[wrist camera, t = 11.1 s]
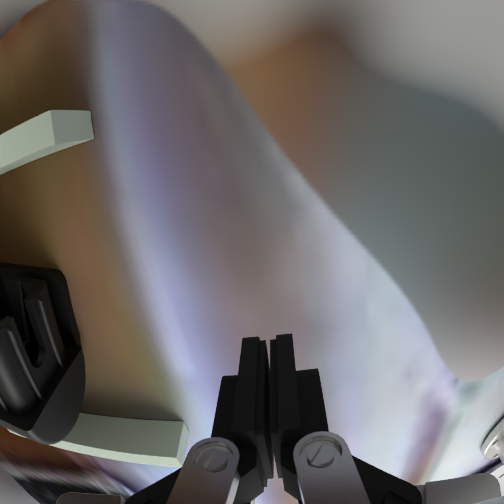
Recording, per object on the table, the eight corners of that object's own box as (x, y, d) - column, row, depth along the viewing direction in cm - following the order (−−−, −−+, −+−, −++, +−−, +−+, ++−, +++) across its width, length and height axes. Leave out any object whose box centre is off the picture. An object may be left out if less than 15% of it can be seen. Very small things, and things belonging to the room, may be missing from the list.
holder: (90, 110, 10) (50, 109, 8) (189, 431, 17) (182, 467, 14) (-73, 195, 11) (-100, 207, 8) (23, 409, 18) (10, 432, 15)
